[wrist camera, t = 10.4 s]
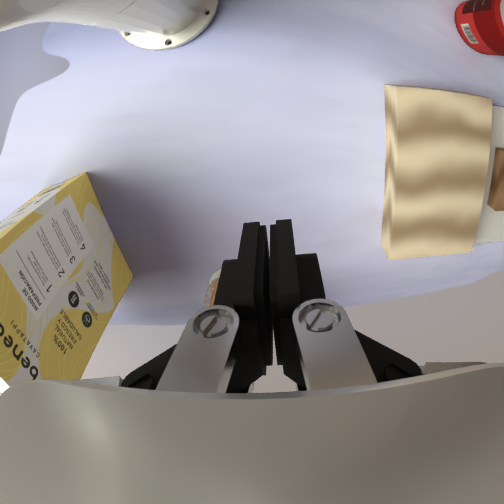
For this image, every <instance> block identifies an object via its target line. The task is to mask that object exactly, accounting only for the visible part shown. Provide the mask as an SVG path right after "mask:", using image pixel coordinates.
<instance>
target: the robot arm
mask: <svg viewBox="0 0 504 504" xmlns="http://www.w3.org/2000/svg"><path fill="white" fill-rule="evenodd" d="M218 2H219V0H0V32H1V31H4V30H8V29H11V28H15V27H18V26H22V25H26V24H31V23H38V22H64V23H74V24H82V25H89V26H95V27H102V28H107V29H113V30H118V31H119V32H120V34H121V35H122V36H123V38H124V39H125V40H127V41H128V42H129V43H131V44H132V45H134V46H137V47H139V48H143V49H147V50H155V51H156V50H168V49H173V48H176V47H179V46H181V45H184V44H186V43H187V42H189V41H191V40H193V39H194V38H195V37H197V36H198V35H199V34H201V33H202V32H203V31H204V29H205V28H206V27H207V26H208V25H209V23H210V22H211V20H212V19H213V17H214V15H215V13H216V10H217V7H218ZM206 12H210V14H209V15H206ZM129 33H131V34H130V35H129ZM170 41H172V44H171V45H169V42H170ZM273 330H274V339H275V348H276V356H277V364H278V365H283V371H284V374H285V375H286V376H288V377H289V378H290V379H292V380H293V381H294V382H296V391H294V392H276V393H253V390H254V383H253V382H254V381H256V380H257V379H258V378H259V377H261V376H262V375H266V366H269V365H272V364H273V363H272V362H273ZM0 504H504V363H483V362H455V363H454V362H453V363H451V362H447V363H441V362H439V363H438V362H435V363H433V362H431V363H430V362H429V363H428V362H426V363H425V365H424V366H418V365H417V364H416V363H415V362H413V361H412V360H411V359H409V358H407V357H405V356H403V355H401V354H399V353H397V352H396V351H394V350H392V349H390V348H388V347H386V346H384V345H382V344H380V343H378V342H377V341H375V340H373V339H371V338H369V337H367V336H365V335H363V334H362V333H360V332H358V331H356V330H354V329H353V326H352V324H351V322H350V320H349V318H348V316H347V313H346V311H345V310H344V309H343V307H342V306H341V305H339V304H338V303H336V302H334V301H331V300H328V299H326V297H325V292H324V287H323V282H322V277H321V272H320V268H319V263H318V258H317V254H316V253H312V254H299V255H295V246H294V238H293V230H292V221H291V219H286V220H276V224H275V225H270V257H269V249H268V240H267V232H266V225H263V226H260V223H259V222H251V223H244V224H243V230H242V236H241V242H240V248H239V253H238V259H233V260H224V261H223V264H222V268H221V273H220V277H219V281H218V286H217V290H216V294H215V299H214V303H213V305H212V306H208V307H205V308H203V309H201V310H199V311H197V312H196V313H195V314H193V315H192V317H191V318H190V319H189V321H188V323H187V325H186V327H185V329H184V331H183V333H182V335H181V337H180V339H179V341H178V343H177V344H176V345H174V346H172V347H171V348H169V349H168V350H166V351H165V352H163V353H162V354H160V355H158V356H157V357H155V358H153V359H152V360H150V361H149V362H147V363H145V364H144V365H142V366H141V367H139V368H137V369H136V370H134V371H132V372H131V373H130V374H129V375H127V376H126V378H125V379H121V377H120V376H115V377H106V378H95V379H83V380H71V381H69V380H56V379H42V380H31V381H26V382H21V383H19V384H16V385H13V386H11V387H9V388H8V389H6V390H5V391H4V392H3V393H2V394H1V395H0Z"/></svg>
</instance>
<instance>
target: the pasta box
mask: <svg viewBox="0 0 504 504" xmlns="http://www.w3.org/2000/svg"><path fill="white" fill-rule="evenodd" d="M132 278H133V275H132V273H131V271H130V269H129V267H128V265H127V263H126V261H125V259H124V257H123V255H122V252H121V250H120V248H119V246H118V244H117V242H116V240H115V238H114V236H113V233H112V231H111V229H110V227H109V225H108V222H107V220H106V218H105V216H104V213H103V211H102V209H101V206H100V204H99V202H98V199H97V197H96V194H95V192H94V190H93V187H92V185H91V182H90V180H89V177H88V175H87V172H85V173H83V174H80V175H78V176H75V177H73V178H71V179H68V180H66V181H64V182H61V183H59V184H57V185H55V186H52V187H50V188H48V189H46V190H44V191H42V192H40V193H38V194H37V195H36V196H34V197H33V198H31V199H30V200H29V201H27V202H26V203H25V204H23V205H22V206H21V207H19V208H18V209H17V210H15V211H14V212H13V213H12V214H10V215H9V216H8V217H7V218H5V219H4V220H3V221H2V222H0V395H1V394H2V393H3V392H4V391H5V390H6V389H8V388H9V387H11V386H13V385H16V384H19V383H21V382H26V381H31V380H42V379H56V380H69V381H71V380H80V379H81V377H82V375H83V372H84V370H85V368H86V366H87V364H88V362H89V360H90V358H91V356H92V353H93V351H94V350H95V347H96V345H97V343H98V341H99V339H100V337H101V336H102V334H103V332H104V330H105V328H106V326H107V324H108V322H109V320H110V318H111V316H112V314H113V313H114V311H115V309H116V307H117V305H118V303H119V301H120V300H121V298H122V296H123V294H124V292H125V291H126V289H127V287H128V285H129V283H130V282H131V280H132Z"/></svg>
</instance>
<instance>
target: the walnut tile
mask: <svg viewBox="0 0 504 504" xmlns="http://www.w3.org/2000/svg"><path fill="white" fill-rule="evenodd" d="M487 205H489V206H490V207H491V208H492V209H493V210H495V211H504V148H498V147H495V155H494V164H493V171H492V178H491V185H490V191H489V197H488V202H487Z"/></svg>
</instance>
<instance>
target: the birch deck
mask: <svg viewBox="0 0 504 504" xmlns="http://www.w3.org/2000/svg"><path fill="white" fill-rule="evenodd" d="M384 91H385V116H386V168H385V193H384V210H383V223H382V235H381V246H382V248H383V250H384V252H385V254H386V256H387V257H388V259H389V260H397V259H407V258H418V257H428V256H438V255H448V254H458V253H468V252H472V249H473V245H474V241H475V237H476V233H477V228H478V224H479V219H480V214H481V209H482V203H483V198H484V192H485V185H486V178H487V171H488V163H489V153H490V142H491V126H492V99H489V98H486V97H482V96H477V95H473V94H467V93H461V92H454V91H447V90H440V89H431V88H422V87H411V86H398V85H384Z"/></svg>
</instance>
